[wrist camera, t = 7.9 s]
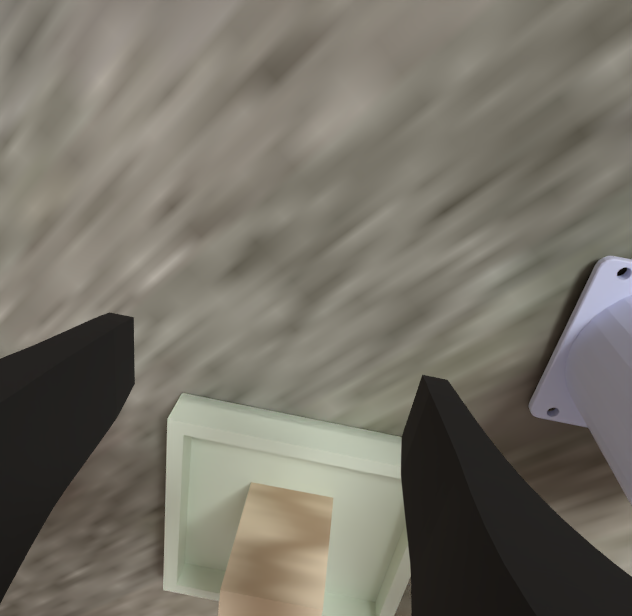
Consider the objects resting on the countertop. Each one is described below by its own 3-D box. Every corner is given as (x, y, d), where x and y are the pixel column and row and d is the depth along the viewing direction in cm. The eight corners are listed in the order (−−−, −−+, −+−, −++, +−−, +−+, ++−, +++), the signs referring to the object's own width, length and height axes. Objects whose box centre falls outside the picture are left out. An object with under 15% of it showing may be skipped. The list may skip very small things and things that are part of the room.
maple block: (333, 497, 26) (322, 610, 21) (321, 550, 29) (308, 664, 23) (251, 482, 27) (220, 590, 21) (244, 536, 29) (215, 646, 23)
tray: (447, 446, 25) (452, 476, 23) (385, 603, 31) (385, 636, 29) (182, 392, 25) (167, 418, 23) (175, 559, 31) (163, 589, 30)
